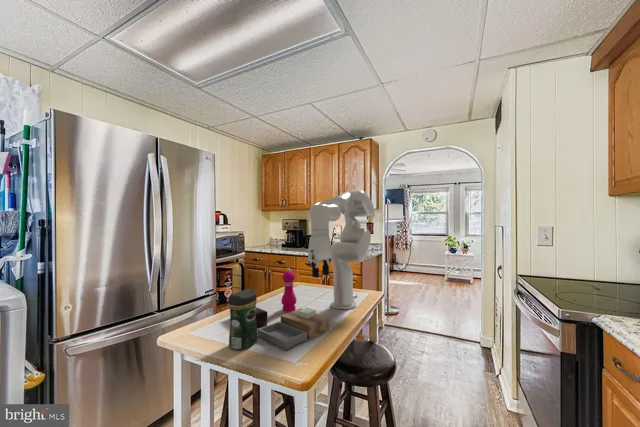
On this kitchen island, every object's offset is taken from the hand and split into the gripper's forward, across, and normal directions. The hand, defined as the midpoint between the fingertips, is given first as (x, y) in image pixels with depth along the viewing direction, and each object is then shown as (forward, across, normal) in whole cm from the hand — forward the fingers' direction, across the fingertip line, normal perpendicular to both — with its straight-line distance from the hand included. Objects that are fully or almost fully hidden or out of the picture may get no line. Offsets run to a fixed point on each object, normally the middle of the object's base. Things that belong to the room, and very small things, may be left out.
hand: (320, 275), depth 113 cm
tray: (+20, +22, 0) cm, 29 cm away
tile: (+15, +8, 0) cm, 17 cm away
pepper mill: (+20, -1, -22) cm, 30 cm away
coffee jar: (+20, +33, -7) cm, 39 cm away
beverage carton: (+20, +20, -24) cm, 37 cm away
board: (+20, +10, 0) cm, 22 cm away
